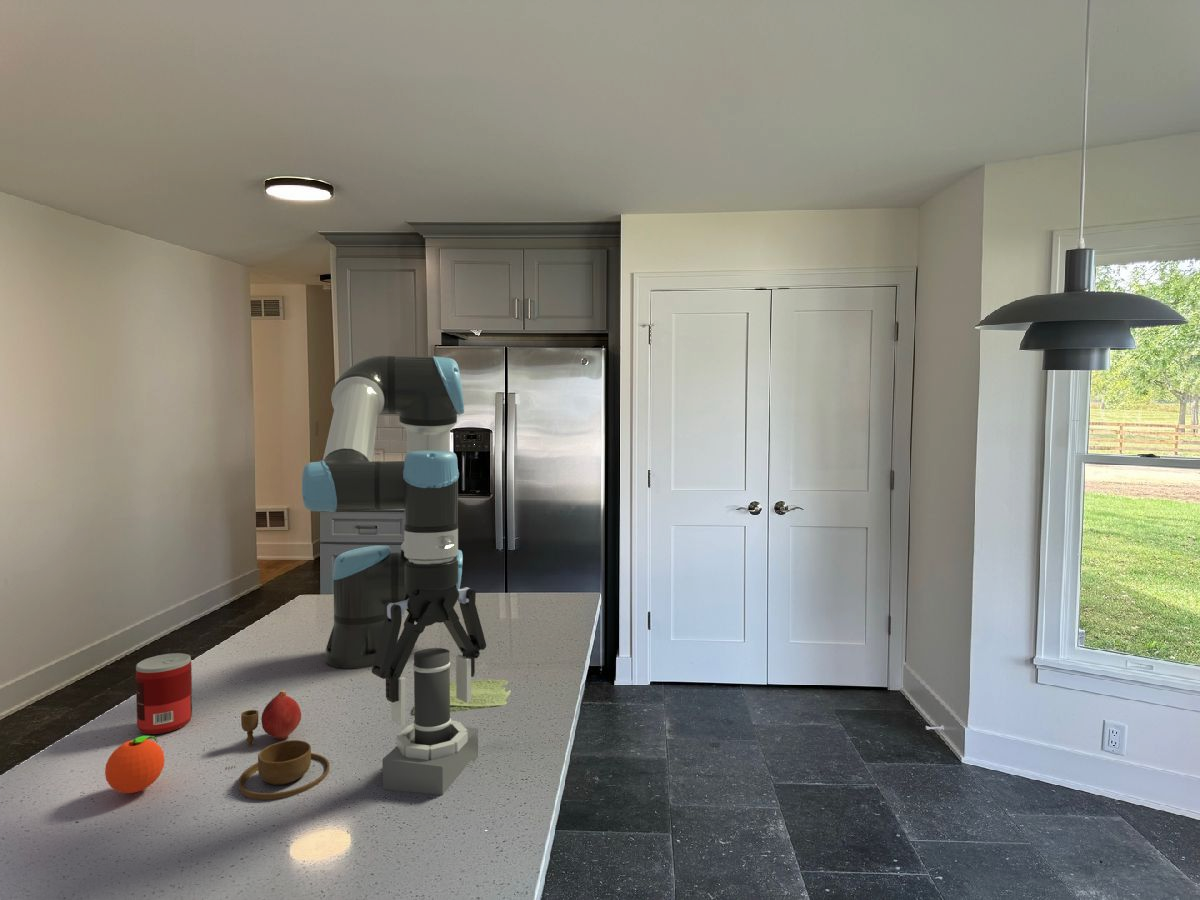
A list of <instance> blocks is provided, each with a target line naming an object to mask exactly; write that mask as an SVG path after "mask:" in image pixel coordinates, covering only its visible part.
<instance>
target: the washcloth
mask: <svg viewBox="0 0 1200 900" xmlns="http://www.w3.org/2000/svg"><path fill="white" fill-rule="evenodd" d="M508 683H509V681H508V680H504V679H491V678H489V679H477V680H471V702H468V703H466V702H464V701H462V700H460V699H458V698H456V681H450V713H454V712H459V711H460V712H461V711H462V712H463V711H470V710H478V709H490V708H494V707H502V706H504V705H506V704H508V702H507V701H506V700H507V699H508V698H509V695H510V694H511V692H512V691H511V689H509V690H507V691H506V687H503V686H507V685H508ZM412 716H415V708H414V707H413V710H412Z"/></svg>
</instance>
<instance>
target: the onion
mask: <svg viewBox="0 0 1200 900" xmlns="http://www.w3.org/2000/svg"><path fill="white" fill-rule="evenodd" d="M260 720H261V727H262V729H263V731H264V732H265V733H266V734H267V735H269V736H270V737H273V738H276V739H278V740H285V739H287V737H289V736H290V735H291V734H292V733H293V732H294V731H295V730H296V728H298V726H299V725H300V722H301V720H302V710H301V708H300V705H299V703H298V702H297V701H296V700H295V699H294V698H292V697H290V696H288V695H287V691H286V690H280V692H279V693H278V694H276V696H275V697H273V698H272V699H271V700H270V701H269V702H268V703H267V705H266V706H265V707H264V709H263V711H262V713H261V719H260Z"/></svg>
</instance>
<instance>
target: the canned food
mask: <svg viewBox="0 0 1200 900" xmlns="http://www.w3.org/2000/svg"><path fill="white" fill-rule="evenodd" d="M191 657H192V656H191V655H190V654H187V653H181V652H177V653H175V652H174V653H173V652H172V653H166V654H160V655H155V656H152V657H148V658H145V659H143V660H140V661H139V662H137V664H135V698H136V699H135V700H136V701H135V702H136V724H137V725H136V726H137V728H138V731H139V732H140V733H142V734H145V735H156V734H157V735H158V734H165V733H168V732H172V731H176V730H178V729H181V728H183V727H185V726H186V725H188V724H189V723H190V722H191V720H192V717H193V685H192V684H193V681H192V680H193V677H192V675H193V671H192V659H191Z"/></svg>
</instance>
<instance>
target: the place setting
mask: <svg viewBox="0 0 1200 900" xmlns="http://www.w3.org/2000/svg"><path fill="white" fill-rule="evenodd" d="M240 715H241V716H240V721H241V728H242V730H243V731H244V732H246V735H247V737H246V739H245V740H246V743H247V746H246V747H252V746H253V745H254V743H253V742H254V740H255V737H254V734H253V733H254V731H255V730H256V729H257V728H258V725H259V710H256V709H249V710H246V711H244V712H241V714H240ZM312 759H314V760H318V761H321V762H322V763H323V764H324V765H325V766H326V768H325V771H324V772H323V773H322V774H321V775H320V776H319V777H317V778H316V779H315V780H313V781H311V782H309V783H308V784H307V783H306V784H304V785H303V786H299V787H297V788H293V789H290V790H285V791H279V792H272V793H270V792H267V793H264V792H255V791H251V790H249V789H247V788H245V784H246V783H247V781H248V779H249V778H250V777H251V776H253V775H254V774H256V773H257V772H258V775H259V777H260V778H261V779H262V781H264V782H266V783H268V784H271V785H272V786H273V785H274V786H283V785H287V784H291V783H293V782H295V781H297V780H299V779H300V778H302V777H303V776H304V775H305V774H306V773H307V772H308V770H309V769H310V766H311V761H312ZM227 768H228V770H230V769H231V770H232V769H235V768H236V766H229V767H227V766H226V767H225V768H224V769H225V771H226V770H227ZM256 771H257V772H256ZM329 772H330V761H329V760H328V759H327V758H326V757H325V756H323V755H321V754H318V753H313V752H312V746H311V744H310V743H309V742H306V741H305V740H298V739H290V740H283V741H279V742H276V743H273V744H270V745H268V746H266V747H264V748H263V749H262V750H261V751H259V753H258V755H257V762H256V763H255V764H253V765H251V766H250V767H248V768H246V769H245V770H244V771H243V772H242V773H241V775H240V776H239V778H238V789H239V791H240V793H241V794H242V795H243V796H244V797H246V798H248V799H251V800H256V801H273V800H280V799H285V798H289V797H293V796H296V795H299V794H302V793H304V792H306V791H309V790H310V789H312V788H314V787H315V786H317V785H318V784H320V783H321V782H322V781H323V780H324V779H325V778H326V777H327V775H329ZM246 780H247V781H246Z"/></svg>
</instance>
